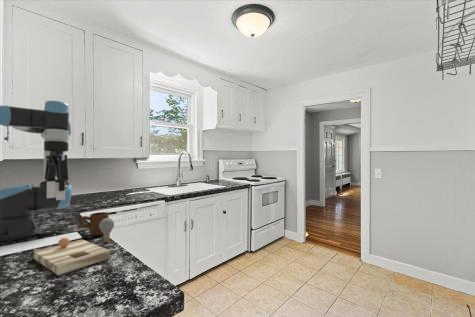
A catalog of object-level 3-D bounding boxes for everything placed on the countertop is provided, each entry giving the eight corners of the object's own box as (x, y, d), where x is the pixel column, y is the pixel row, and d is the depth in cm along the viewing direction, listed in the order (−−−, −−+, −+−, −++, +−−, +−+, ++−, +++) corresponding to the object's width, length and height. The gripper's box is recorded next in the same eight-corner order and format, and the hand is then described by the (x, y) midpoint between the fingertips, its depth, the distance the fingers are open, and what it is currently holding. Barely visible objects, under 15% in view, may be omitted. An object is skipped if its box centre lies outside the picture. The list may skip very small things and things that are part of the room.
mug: (79, 239, 99) (79, 217, 99) (77, 235, 105) (77, 215, 105) (110, 233, 107) (110, 213, 107) (106, 230, 113) (106, 211, 113)
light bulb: (117, 240, 97) (117, 217, 97) (105, 245, 92) (106, 220, 92) (107, 239, 99) (107, 216, 99) (95, 243, 94) (96, 219, 94)
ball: (56, 247, 83) (56, 238, 83) (67, 244, 85) (67, 235, 85) (60, 249, 81) (60, 239, 81) (71, 246, 83) (71, 237, 84)
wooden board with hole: (33, 258, 79) (33, 251, 79) (82, 245, 91) (82, 239, 91) (58, 275, 67) (58, 266, 67) (110, 257, 79) (110, 250, 79)
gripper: (35, 142, 92) (34, 197, 92) (55, 138, 80) (54, 202, 79) (57, 143, 98) (56, 195, 98) (79, 140, 86) (78, 199, 86)
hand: (55, 198), depth 89 cm, fingers open, 9 cm apart
